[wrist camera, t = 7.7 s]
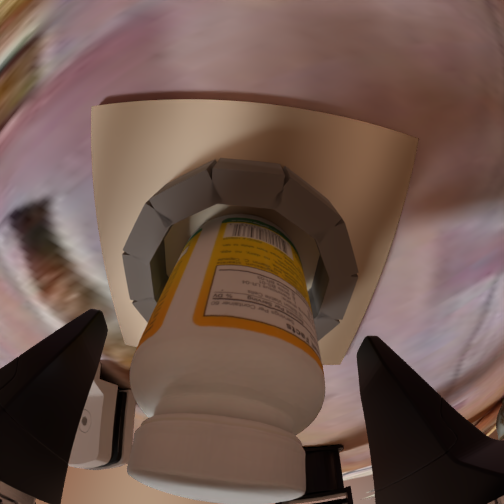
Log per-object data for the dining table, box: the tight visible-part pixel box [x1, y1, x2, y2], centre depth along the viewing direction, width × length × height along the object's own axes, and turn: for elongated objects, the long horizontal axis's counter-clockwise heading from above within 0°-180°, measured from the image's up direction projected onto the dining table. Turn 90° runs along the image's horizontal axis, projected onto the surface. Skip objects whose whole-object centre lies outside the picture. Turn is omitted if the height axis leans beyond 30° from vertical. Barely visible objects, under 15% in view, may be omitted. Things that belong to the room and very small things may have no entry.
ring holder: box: [91, 99, 419, 365], centre depth 12 cm, size 14×14×2 cm
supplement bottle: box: [127, 214, 325, 504], centre depth 8 cm, size 5×5×10 cm
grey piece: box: [68, 362, 136, 470], centre depth 18 cm, size 17×5×10 cm, turn 115°
